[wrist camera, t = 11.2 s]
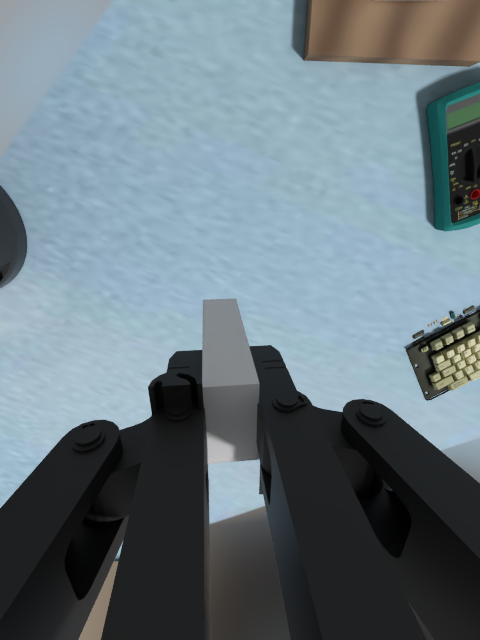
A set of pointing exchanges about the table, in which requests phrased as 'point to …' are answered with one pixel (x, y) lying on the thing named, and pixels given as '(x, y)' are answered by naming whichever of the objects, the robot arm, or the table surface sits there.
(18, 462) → the table surface
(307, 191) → the table surface
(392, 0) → the grey frame piece
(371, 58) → the board
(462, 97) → the digital multimeter
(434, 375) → the keyboard
